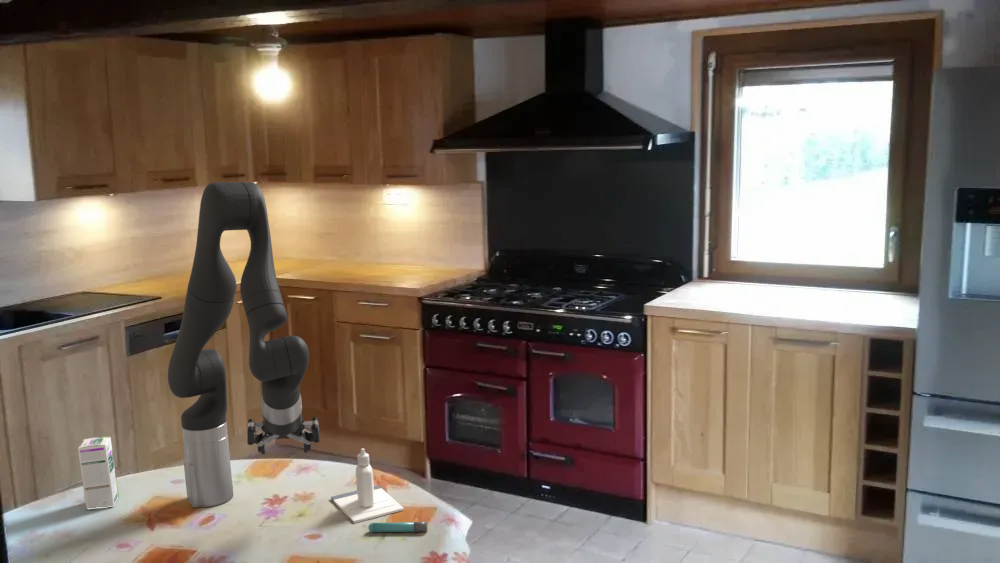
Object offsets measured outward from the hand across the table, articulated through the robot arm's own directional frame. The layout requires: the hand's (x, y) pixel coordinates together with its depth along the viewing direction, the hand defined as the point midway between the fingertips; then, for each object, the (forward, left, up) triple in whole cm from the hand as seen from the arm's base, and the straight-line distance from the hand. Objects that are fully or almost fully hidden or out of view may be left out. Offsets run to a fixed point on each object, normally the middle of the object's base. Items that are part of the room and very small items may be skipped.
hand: (284, 449), depth 185 cm
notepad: (+15, -6, -14) cm, 21 cm away
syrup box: (-34, +27, -14) cm, 45 cm away
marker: (+15, -22, -14) cm, 30 cm away
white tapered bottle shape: (+15, -6, -13) cm, 21 cm away
